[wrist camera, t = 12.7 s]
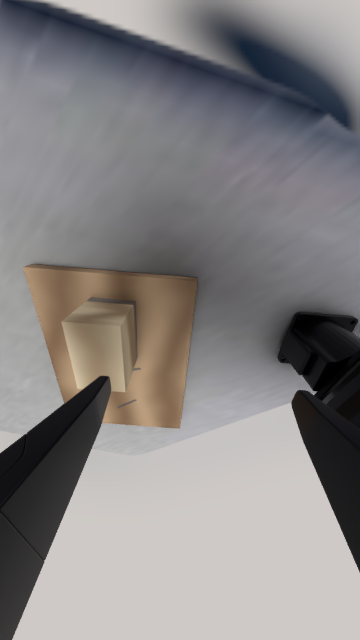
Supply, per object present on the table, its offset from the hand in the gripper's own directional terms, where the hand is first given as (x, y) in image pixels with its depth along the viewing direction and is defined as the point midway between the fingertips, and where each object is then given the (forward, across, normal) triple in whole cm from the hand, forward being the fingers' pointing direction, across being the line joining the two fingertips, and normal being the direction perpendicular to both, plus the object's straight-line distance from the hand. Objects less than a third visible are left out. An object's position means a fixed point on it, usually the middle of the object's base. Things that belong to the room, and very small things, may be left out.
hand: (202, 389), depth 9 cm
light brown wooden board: (+12, +8, +9) cm, 17 cm away
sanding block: (+11, +8, +4) cm, 14 cm away
